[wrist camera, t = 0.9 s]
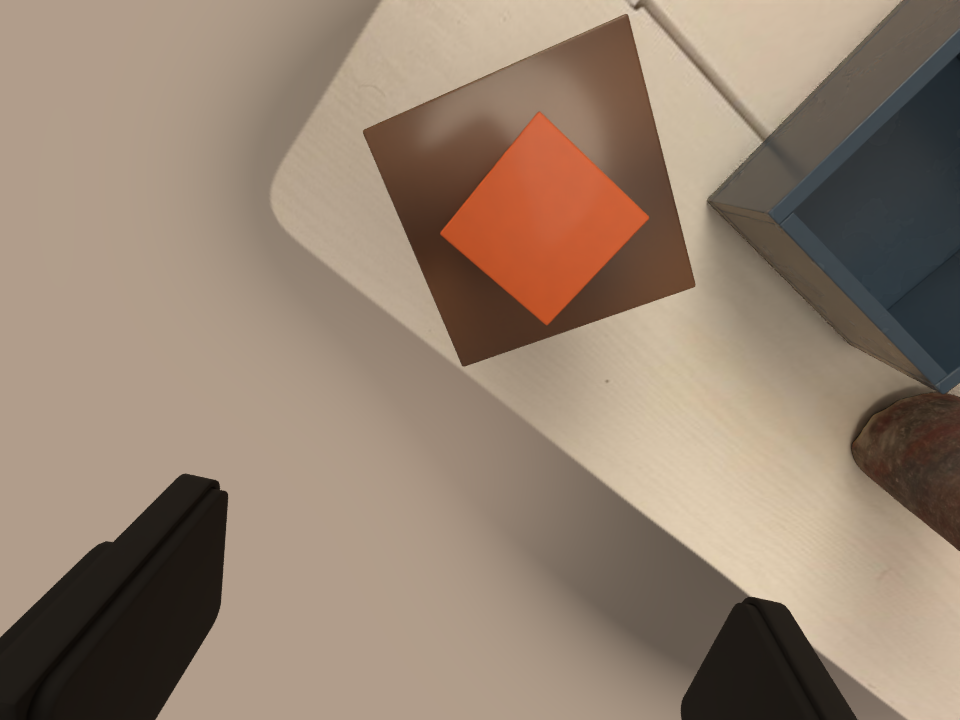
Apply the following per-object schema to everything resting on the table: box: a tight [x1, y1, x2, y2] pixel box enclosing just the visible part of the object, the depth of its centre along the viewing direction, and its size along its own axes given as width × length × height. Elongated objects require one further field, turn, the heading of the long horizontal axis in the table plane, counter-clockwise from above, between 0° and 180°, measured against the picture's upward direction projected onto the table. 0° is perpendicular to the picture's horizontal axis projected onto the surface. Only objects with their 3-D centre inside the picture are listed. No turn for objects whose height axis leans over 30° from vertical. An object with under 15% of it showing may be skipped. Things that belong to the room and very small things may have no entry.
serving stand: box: [363, 14, 695, 366], centre depth 26 cm, size 10×10×12 cm
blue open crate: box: [707, 0, 960, 394], centre depth 27 cm, size 14×14×8 cm
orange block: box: [440, 112, 649, 325], centre depth 18 cm, size 4×4×4 cm
